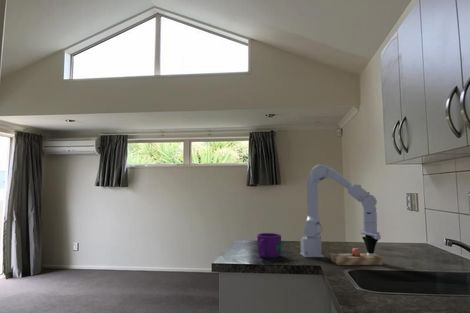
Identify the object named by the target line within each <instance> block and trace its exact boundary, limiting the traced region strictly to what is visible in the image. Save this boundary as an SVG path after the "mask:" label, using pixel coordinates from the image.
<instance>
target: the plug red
mask: <svg viewBox="0 0 470 313" xmlns="http://www.w3.org/2000/svg"><path fill="white" fill-rule="evenodd" d="M352 254H353V256H354V257H360V254H361V248H359V247H352Z"/></svg>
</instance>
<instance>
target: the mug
mask: <svg viewBox="0 0 470 313" xmlns="http://www.w3.org/2000/svg"><path fill="white" fill-rule="evenodd" d="M256 238H257V240H256V241H257V242H256V243H257V253H258V256H260V257H262V258H267V259H273V258H275V259H276V258H279V257H280V255H281V250H282V235H281V234H279V233H273V232H263V233H258V234H257V236H256Z"/></svg>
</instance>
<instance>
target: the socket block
mask: <svg viewBox="0 0 470 313" xmlns="http://www.w3.org/2000/svg"><path fill="white" fill-rule="evenodd" d="M338 254H339V253H331V254H330V261H331V262H333V263H334V264H336V265H337V266H357V265H359V266H363V265H365V266H367V265H368V266H370V265H371V266H372V265H375V266H376V265H377V266H379V265H381V266H382V265H384V258H383V257H382V256H380V255H378V254H377V253H374V255H375V257H368V256H367V253H360V257H354V256H353V253H345V254H346V257H339V256H338Z"/></svg>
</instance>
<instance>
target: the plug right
mask: <svg viewBox="0 0 470 313" xmlns="http://www.w3.org/2000/svg"><path fill="white" fill-rule="evenodd" d="M366 254H367V256H368V257H375V255H374V254H375V252H374V253H373V254H369V253H368V252H366Z"/></svg>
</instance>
